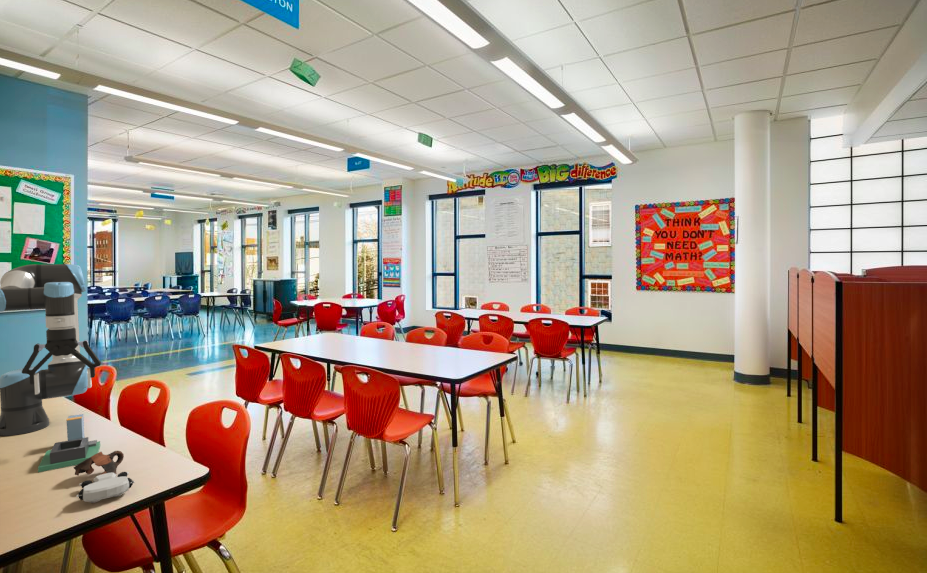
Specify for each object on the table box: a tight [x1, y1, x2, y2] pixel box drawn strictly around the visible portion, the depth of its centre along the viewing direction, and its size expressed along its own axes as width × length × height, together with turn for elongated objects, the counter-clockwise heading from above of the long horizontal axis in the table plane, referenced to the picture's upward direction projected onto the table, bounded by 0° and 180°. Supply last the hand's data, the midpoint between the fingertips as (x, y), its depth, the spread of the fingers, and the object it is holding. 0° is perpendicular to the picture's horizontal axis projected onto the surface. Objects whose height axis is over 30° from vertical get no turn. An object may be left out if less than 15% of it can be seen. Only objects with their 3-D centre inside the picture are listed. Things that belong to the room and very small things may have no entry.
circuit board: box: [37, 436, 101, 473], centre depth 152 cm, size 16×14×5 cm
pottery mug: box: [73, 450, 125, 477], centre depth 139 cm, size 12×9×8 cm
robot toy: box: [76, 471, 136, 504], centre depth 128 cm, size 12×4×15 cm
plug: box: [66, 413, 86, 441], centre depth 164 cm, size 6×4×10 cm, turn 34°
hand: (64, 390), depth 158 cm, fingers open, 13 cm apart
